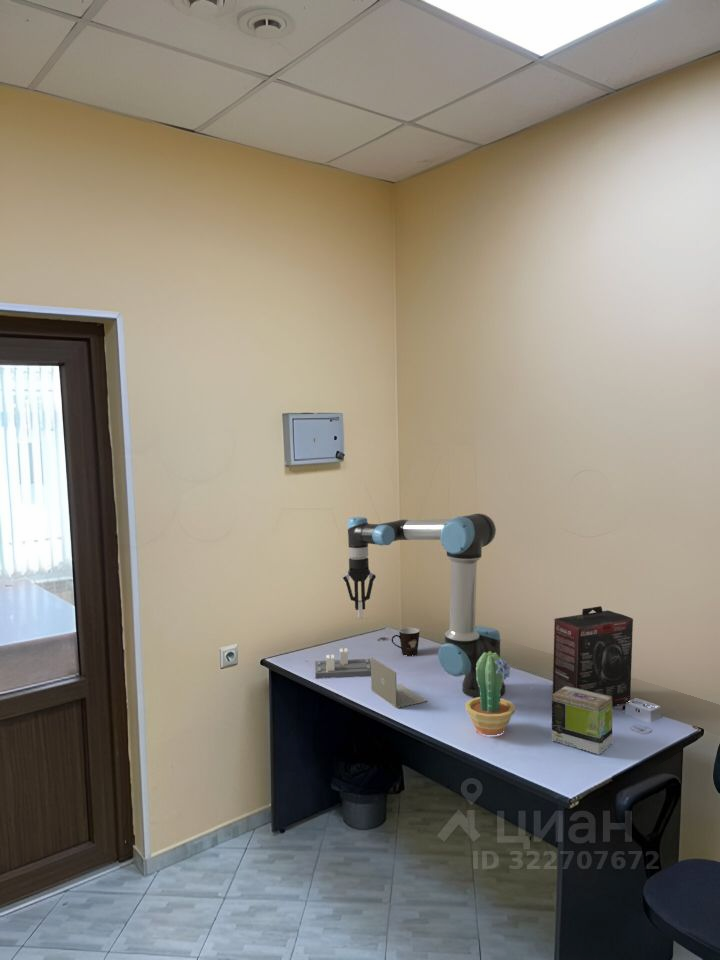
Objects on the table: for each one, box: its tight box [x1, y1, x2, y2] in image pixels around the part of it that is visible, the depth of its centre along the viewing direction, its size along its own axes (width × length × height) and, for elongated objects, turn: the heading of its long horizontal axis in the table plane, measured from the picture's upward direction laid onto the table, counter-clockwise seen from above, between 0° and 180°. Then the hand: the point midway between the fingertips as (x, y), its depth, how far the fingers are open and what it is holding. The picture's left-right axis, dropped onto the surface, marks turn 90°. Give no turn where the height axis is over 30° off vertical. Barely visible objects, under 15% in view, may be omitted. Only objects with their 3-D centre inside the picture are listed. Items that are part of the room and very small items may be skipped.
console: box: [314, 658, 371, 679], centre depth 273 cm, size 14×22×2 cm, turn 94°
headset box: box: [552, 605, 634, 706], centre depth 236 cm, size 24×13×33 cm, turn 115°
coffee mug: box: [391, 627, 421, 657], centre depth 292 cm, size 12×9×10 cm
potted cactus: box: [464, 651, 516, 735], centre depth 216 cm, size 15×15×25 cm
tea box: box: [551, 686, 613, 755], centre depth 208 cm, size 15×10×15 cm
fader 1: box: [325, 654, 335, 671], centre depth 269 cm, size 4×3×5 cm
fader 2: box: [339, 647, 349, 664], centre depth 276 cm, size 4×3×5 cm
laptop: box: [370, 657, 428, 709], centre depth 246 cm, size 18×12×13 cm
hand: (360, 617), depth 270 cm, fingers closed
